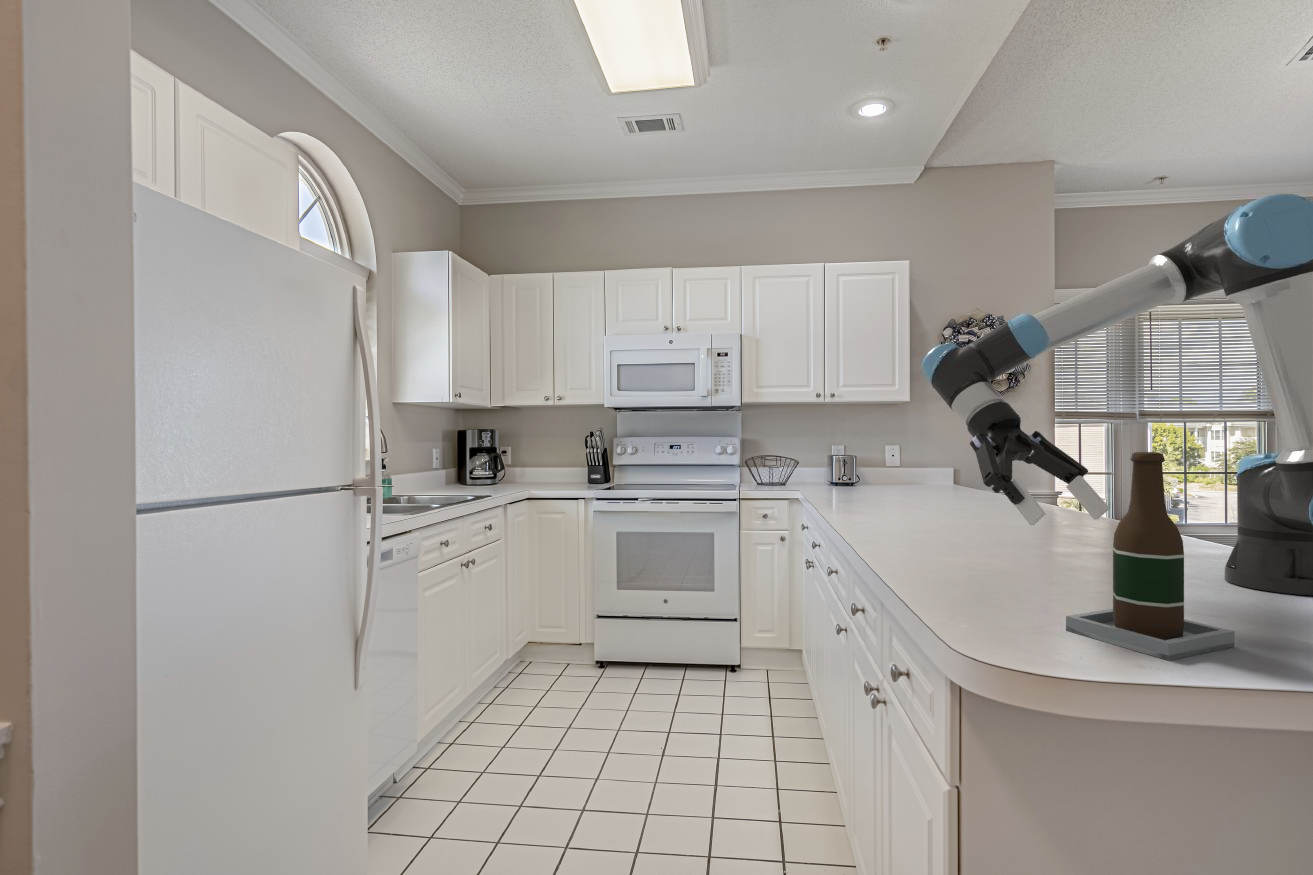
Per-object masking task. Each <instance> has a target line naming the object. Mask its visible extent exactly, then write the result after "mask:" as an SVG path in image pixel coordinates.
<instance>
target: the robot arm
mask: <svg viewBox="0 0 1313 875" xmlns="http://www.w3.org/2000/svg"><path fill="white" fill-rule="evenodd" d="M1221 290H1223V291H1224V295H1225V298H1226V299H1227V300H1229V301H1231V302H1234V303H1236V304H1239V306H1240V307H1241V308H1242V311H1243V315H1244V318H1245V322H1246V325H1247V329H1248V331H1249V335H1250V337H1251V341H1252V346H1253V349H1254V351H1255V355H1256V359H1257V362H1258V365H1259V368H1260V371H1261V374H1262V377H1263V382H1264V384H1265V388H1266V391H1267V394H1268V398H1269V401H1270V403H1271V404H1270V405H1271V407H1272V410H1273V411H1272V412H1273V413H1274V418H1275V419H1276V425H1277V427H1278V431H1279V434H1280V437H1281V440H1282V444H1283V449H1282V451H1281V452H1274V453H1273V452H1272V453H1258V454H1257V453H1256V454H1255V453H1254V454H1249V455H1246V456H1244V457H1242V458H1241V459H1239V461H1238V464H1237V472H1236V476H1235V477H1236V483H1237V486H1236V488H1237V489H1236V490H1237V491H1236V493H1237V497H1236V498H1237V500H1236V502H1237V510H1236V512H1237V515H1236V516H1237V521H1236V522H1237V534H1236V535H1237V537H1236V542H1235V543H1234V545H1233V548H1232V549H1231V553H1230V554H1229V556H1228V560H1227V561H1226V563H1225V566H1224V580H1225V581H1226V582H1228V583H1230V584H1233V585H1236V586H1240V587H1245V588H1249V589H1254V590H1259V591H1260V590H1261V591H1266V592H1267V591H1268V592H1272V593H1281V594H1291V595H1302V596H1313V200H1312V199H1309V198H1307V197H1303V196H1301V195H1298V194H1294V193H1273V194H1270V195H1266V196H1263V197H1262V196H1261V197H1260V198H1257V199H1254V200H1252V201H1250V202H1247V203H1245V204H1241V205H1239V207H1237V208H1235V210H1233V211H1232V212H1229V213H1228V214H1226V215H1225V216H1223V217H1220V218H1219V219H1217V220H1215V221H1213V222H1212V223H1210V224H1208V225H1206V226H1204V227H1203V228H1202V229H1199V230H1198V231H1197V232H1196V233H1194V234H1192V235H1191V236H1189V237H1188V238H1185V240H1183V241H1181V242H1179V243H1178V244H1176V245H1174V246H1173V247H1171V248H1169V249H1167V250H1164V251H1163V252H1161V253H1158V254H1156V255H1154V256H1152V257H1151V258H1150V260H1149V262H1148V264H1147V265H1145V266H1142V267H1140V268H1138V269H1135V270H1133V271H1131V272H1128V273H1127V274H1124V275H1122V276H1119V277H1117V278H1115V279H1113V280H1110V281H1107V282H1106V283H1103V284H1101V285H1099V286H1097V287H1095V288H1092V289H1090V290H1088V291H1085V292H1083V293H1081V294H1079V295H1076V296H1073V297H1071V298H1069V299H1066V300H1065V301H1063V302H1062V301H1061V302H1060V303H1058V304H1056V305H1053V306H1051V307H1049V308H1047V309H1043V310H1042V311H1040V312H1037V313H1035V314H1030V313H1026V312H1025V313H1022V314H1019V315H1017V316H1015V317H1014V318H1012V319H1009V320H1007V321H1006V322H1005V323H1003V324H1001V325H999V326H998V327H996V328H994V329H992V330H990V331H989V332H987V333H986V334H983V335H982V336H981V337H979V338H978V339H976V340H975V341H973V342H970V343H969V344H966V345H965V346H963V347H960V346H959V345H957V344H956V343H953V342H946V343H944V344H939V345H936V346H935V347H933V348H932V349H930V350H929V351H928V353H927V354H926V355H925V356H924V358H923V360H922V363H921V372H922V374H924V376H925V377H926V378H927V380H928V381H929V383H930V384H931V387H932V389H934V390H935V391H936V392H937V393H938V395H939V396H940V397H941V399H942V400H943V401H944V402H945V404H947V406H948V407H949V408H950V409H951V411H952V412H953V413H954V414H955V416H956V417H957V418H958V419H959V421H960V422H961V424H963V426H964V427H965V428H966V429H967V431H968V433H969V434H970V435H971V437H972V440H970V442H969V445H970V447H971V448H972V449H973V451H974V453H975V455H976V459H977V460H976V461H977V463H978V467H979V472H980V475H981V478H982V482H983V484H984V486H986V487H988V488H991V490H992V491H993V492H994V493H996V494H999V493H1000V492H1001V491H1002V492H1003V494H1004V495H1005V496H1006V497H1007V499H1008V500H1009V501H1010V502H1011V503H1012V504H1013V505H1014V506H1015V508H1016V509H1017V511H1019V514H1021V516H1023V518H1024V519H1025V521H1026V522H1027V523H1028V525H1029V526H1035V525H1036V524H1037V523H1038V522H1039V521H1040V520H1041V519H1042V518H1044V517H1045V515H1046V514H1047V513H1046V512H1045V510H1044V509H1043V508H1042V507H1041V506H1040V504H1039V503H1038V502H1037V500H1036V499H1035V498H1034V497H1033V496H1032V494H1031V493H1030V492H1029V491H1028V489H1027V488H1026V487H1025V485H1024V484H1023V483H1022V482H1021V480H1020V479H1019V478H1014V479H1013V462H1014V461H1019V462H1021V461H1023V462H1024V463H1026V464H1028V465H1031V464H1032V465H1035V466H1036V467H1038V468H1040V469H1042V470H1043V471H1045V472H1047V473H1049V474H1050V475H1052V476H1054V477H1055V478H1056V479H1059V480H1060V481H1062V482H1064V483H1066V484H1067V485H1066V486H1065V488H1067V490H1068V491H1069V493H1071V495H1072V496H1073V497H1074V498H1075V499H1076V500H1077V501H1078V503H1079V504H1080V505H1081V506H1082V508H1084V509H1085V511H1086V512H1087V513H1088V515H1089V516H1091V518H1092V519H1093V520H1099V519H1100V518H1101V517H1102V516H1103V515H1104V514H1106V513H1107V512H1109V510H1111V508H1110V506H1109V505H1108V504H1107V503H1106V502H1105V500H1103V498H1102V497H1101V496H1100V495H1099V494H1098V493H1097V492H1096V491H1095V489H1094V488H1093V487H1092V486H1091V485H1090V484H1089V483H1088V481H1086V479H1084V476H1086V475H1087V474H1088V473H1089V469H1088V468H1087V467H1085V466H1084V465H1083V464H1082V463H1080V462H1078V461H1077V460H1075V459H1074V458H1073V457H1071V455H1068V453H1066V452H1064V451H1063V450H1061V449H1060V448H1059V447H1057V446H1056V445H1054V444H1053V443H1052V442H1050V441H1049V440H1048V439H1047V438H1046V437H1045V436H1044V435H1043V434H1042V433H1040V431H1037V430H1034V432H1033V433H1032V434H1030V435H1028V434H1027V433H1026V432H1024V431H1023V430H1022V429H1021V422H1022V421H1021V417H1020V415H1019V414H1018V413H1017V411H1015V409H1014V408H1013V407H1012V406H1011V405H1010V404H1009V403H1008V402H1006V398H1004V397H1003V396H1002V394H1000V392H999V391H998V389H996V388H995V387H994V386H993V385H992V383H991V382H992V381H995V380H996V379H997V378H999V377H1001V376H1002V375H1004V374H1007V373H1009V372H1010V371H1012V370H1014V369H1015V368H1018V367H1019V366H1021V365H1023V364H1024V363H1026V362H1028V361H1029V360H1034V359H1035V358H1037V357H1040V356H1042V355H1044V354H1047V353H1050V352H1052V351H1055V350H1056V349H1059V348H1061V347H1063V346H1065V345H1068V344H1071V343H1074V342H1075V341H1078V340H1081V339H1083V338H1085V337H1088V336H1091V335H1092V334H1095V333H1098V332H1100V331H1102V330H1105V329H1107V328H1109V327H1111V326H1114V325H1115V324H1118V323H1120V322H1124V321H1126V320H1129V319H1131V318H1133V317H1136V316H1138V315H1140V314H1143V313H1145V312H1147V311H1149V310H1152V309H1154V308H1158V307H1160V306H1162V305H1164V304H1166V303H1169V304H1171V305H1178V304H1181V303H1183V302H1187V301H1188V300H1190V299H1193V298H1196V297H1200V296H1203V295H1207V294H1210V293H1213V292H1219V291H1221Z"/></svg>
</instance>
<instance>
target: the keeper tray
mask: <svg viewBox="0 0 1313 875" xmlns="http://www.w3.org/2000/svg"><path fill="white" fill-rule="evenodd" d="M1065 631H1066V632H1070V633H1074V634H1076V635H1080V636H1083V637H1086V638H1087V637H1088V638H1091V639H1094V640H1098V641H1100V642H1104V643H1108V644H1110V645H1111V644H1112V645H1115V646H1118V647H1120V648H1121V647H1122V648H1124V649H1128V650H1132V651H1135V652H1137V653H1140V654H1141V653H1142V654H1145V655H1148V656H1152V657H1155V658H1159V659H1162V660H1166V661H1174V660H1177V659H1181V658H1182V659H1183V658H1187V657H1192V656H1197V655H1201V654H1202V655H1203V654H1207V653H1211V652H1217V651H1222V650H1225V649H1226V650H1227V649H1230V648H1234V647H1235V630H1231V629H1226V628H1223V627H1218V626H1213V625H1210V624H1206V623H1201V622H1197V621H1193V620H1188V619H1185V618H1184V630H1183V637H1180V638H1175V639H1170V640H1162V639H1158V638H1154V637H1150V636H1147V635H1143V634H1139V633H1136V632H1132V631H1128V630H1124V629H1121V628H1117V627H1115V625H1114V618H1113V608H1109V609H1101V610H1098V611H1097V610H1096V611H1095V610H1094V611H1089V612H1083V613H1082V612H1081V613H1077V614H1070V615H1065Z"/></svg>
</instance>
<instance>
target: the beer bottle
mask: <svg viewBox="0 0 1313 875" xmlns="http://www.w3.org/2000/svg"><path fill="white" fill-rule="evenodd" d="M1130 461H1131V462H1132V471H1131V473H1132V474H1131V488H1130V500H1129V504H1128V510H1127V513H1125V515H1124V516H1123V517H1122V519H1120V521H1119V522H1118V525H1117V526H1116V529H1115V531H1114V532H1113V533H1114V534H1113V544H1112V580H1113V581H1112V609H1113V618H1114V625H1115V627H1117V628H1121V629H1124V630H1128V631H1132V632H1136V633H1139V634H1143V635H1147V636H1150V637H1154V638H1158V639H1162V640H1170V639H1175V638H1180V637H1183V630H1184V619H1185V551H1184V549H1185V548H1184V540H1183V538H1182V534H1181V533H1180V531H1179V528H1178V526H1177V525H1176V524H1175V522H1174V521H1173V520H1172V519H1171V517H1170V516H1169V513H1168V510H1167V506H1166V499H1165V498H1166V497H1165V486H1164V484H1165V483H1164V472H1163V469H1164V468H1163V463H1164V462H1166V459H1165V456H1164V454H1163V453H1162V452H1159V451H1158V452H1157V451H1156V452H1155V451H1136V452H1132V454H1131V457H1130Z"/></svg>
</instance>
